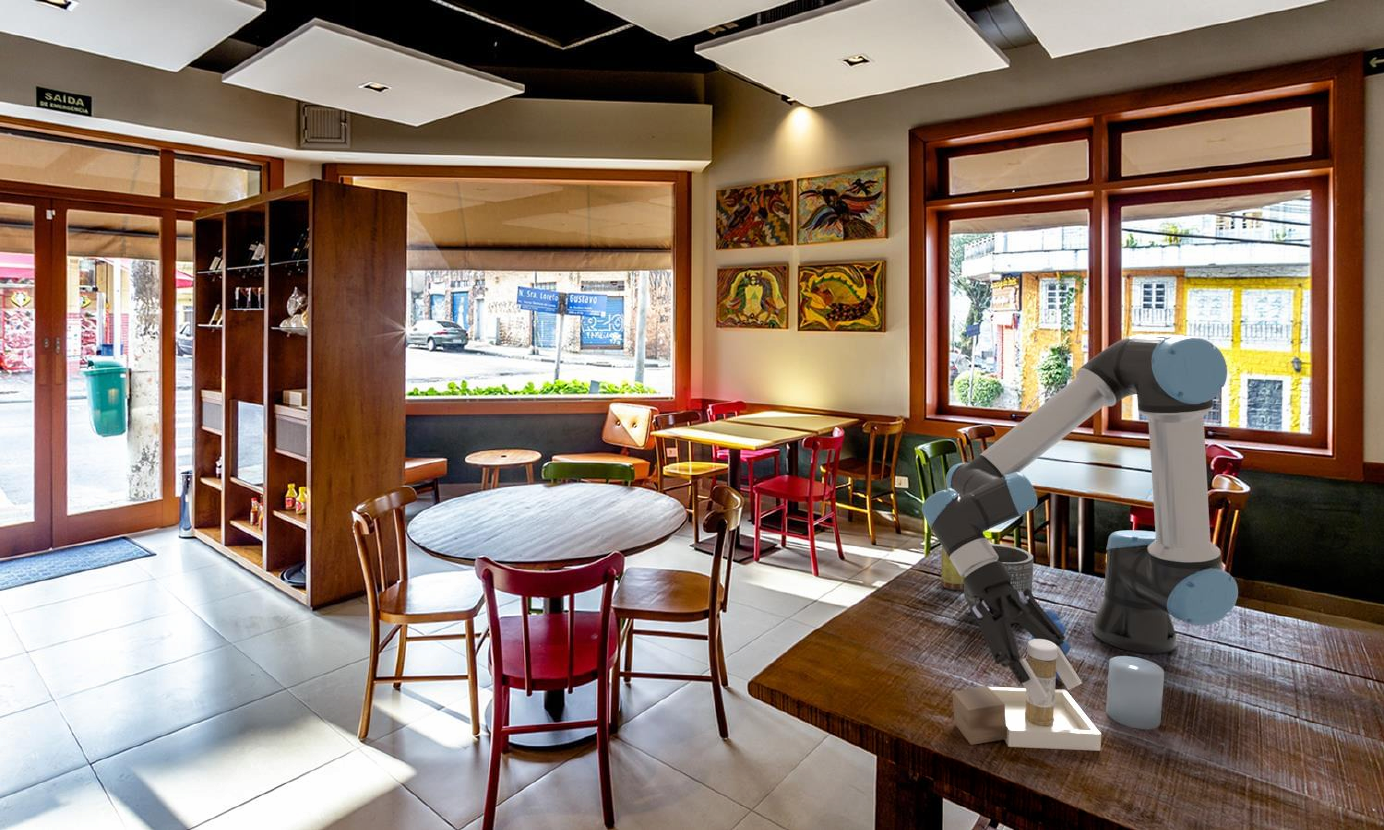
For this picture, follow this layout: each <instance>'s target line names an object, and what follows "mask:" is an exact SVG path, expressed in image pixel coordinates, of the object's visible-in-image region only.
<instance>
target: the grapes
mask: <svg viewBox="0 0 1384 830" xmlns="http://www.w3.org/2000/svg"><path fill="white" fill-rule="evenodd" d="M1044 611H1045V610H1044ZM1045 613H1046V614H1047V615H1048V616H1049V618H1050V619H1051V620H1052V621H1053V622H1054V624H1055V625H1056V626H1057V627H1058V629H1059V630H1060V631H1061V632H1062V634H1063V635H1064V636H1065V633H1066V632H1067V628H1066V626H1065V624H1063V623H1062V622H1061V621H1060V617H1059V616H1058V614H1057V613H1056V612H1055V611H1053V610H1052V609H1048V610H1046V611H1045ZM1054 636H1055V634H1054ZM1032 639H1035V638H1034V637H1033V636H1032V635H1031V638H1030V640H1032ZM1063 641H1064V642H1063V644H1061V645H1060V647H1061V648H1062V650H1063V651H1064V653H1065V654H1066V656H1067V655H1068V653H1069V652H1070V650H1071V645H1070V644H1069V643H1068V641H1067V640H1066V639H1064V640H1063ZM1056 679H1057V680H1061V678H1060V676H1059V675H1058V673H1057V672H1056Z"/></svg>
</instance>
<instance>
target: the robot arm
mask: <svg viewBox="0 0 1384 830" xmlns="http://www.w3.org/2000/svg"><path fill="white" fill-rule="evenodd" d="M1227 378H1228V365H1227V362H1226V358H1225V356H1224V355H1223V353H1222V352H1221V350H1220V349H1219V348H1218V347H1217V345H1214V344H1213V343H1212V342H1211V341H1209V340H1207V339H1205V338H1201V337H1196V336H1191V335H1186V334H1150V333H1140V334H1134V335H1131V336H1127V337H1125V338H1122V339H1120V340H1118V341H1116V342H1114V343H1112V344H1111V345H1110V346H1108V347H1106V348H1105V349H1103V350H1102V351H1100V352H1099V353H1098V354H1096V355H1095V356H1094V357H1093V358H1091V359H1090V360H1088V361H1086V363H1085V364H1083V365H1082V366H1081V367H1079V369H1077V370H1076V374H1075V378H1074V379H1073V380H1072V381H1070V382H1069V383H1068V384H1067V385H1065V386H1064V387H1063V388H1062V389H1060V390H1059V391H1058V392H1057V393H1055V394H1054V395H1053V396H1052V397H1050V398H1049V399H1048V400H1047V401H1045V402H1044V403H1043V404H1042V405H1040V406H1039V407H1038V408H1037V409H1035V410H1034V411H1033V412H1031V413H1030V414H1029V415H1028V416H1027V417H1025V418H1024V419H1023V420H1022V421H1020V422H1019V423H1018V424H1017V425H1015V426H1014V427H1012V429H1010V430H1009V431H1008V432H1007V433H1005V434H1004V435H1003V436H1001V437H1000V438H998V440H996V441H995V442H994V443H993V444H992V445H990V446H989V447H988V448H986V449H985V450H983V452H981V453H980V454H979V455H978V456H976V457H975V458H974V459H973V460H971V461H970V462H959V463H956V464H954V465H953V466H951V467H950V468H949V470H947V471H948V472H947V473H946V475H945V486H946V489H941V490H939V491H936V492H935V493H932V495H930V496H928V497H927V498H926V499H925V500H924V501H923V503H922V506H921V512H922V515H923V516H924V518H925V520H926V522H927V524H928V526H929V529H930V530H931V531H932V533H933V534H934V536H935V537H936V539H937V540H938V542H939V543H940V546H941V548H942V547H943V548H944V550H945V552H946V553H947V555H948V557H949V558H950V560H951V561H952V563H953V565H954V566H955V568H956V570H957V571H958V573H959V575H960V576H961V577H965V578H964V584H965V585H966V587H967V588H968V590H969V592H970V593H971V595H972V597H974V598H978V599H979V603H978V604H977V605H975V606H974V607H972V608H971V609H970V608H969V612H970V614H971V616H972V617H973V618H974V620H975V621H976V623H977V624H978V626H979V628H980V631H981V633H982V635H983V638H984V641H985V642H986V644H987V647H988V649H989V651H990V653H991V656H992V657H993V660H994V662H995V663H996V664H997V665H1002V667H1004V668H1007V667H1009V668H1010V669H1011V671H1012V673H1013V674H1014V676H1015V678H1016V680H1017V682H1019V683H1020V684H1021V685H1022V686H1023V688H1025V689H1026V691H1027V693H1028V694H1029V696H1030V698H1031V699H1032V701H1033V702H1034V704H1036V703H1038V702H1040V701H1042V700H1044V699H1046V698H1048V697H1049V696H1048V695H1047V693H1046V692H1045V690H1044V688H1043V687H1042V685H1041V683H1040V682H1039V680H1038V679H1037V677H1036V675H1035V674H1034V672H1033V671H1032V669H1031V667H1030V666H1029V664H1028V660H1026V657H1024V658H1022V659H1021V657H1020V654H1019V650H1018V646H1017V643H1016V640H1015V635H1014V633H1013V629H1012V624H1010V621H1011V619H1012V620H1013V621H1014V622H1017V623H1018V624H1019V625H1020V626H1021V627H1022V628H1023V629H1025V630H1026V632H1028V633H1029V634H1030V635H1031V637H1032V636H1033V637H1034V638H1035V639H1044V640H1048V641H1051V642H1053V643H1054V644H1056V645H1057V647H1058V657H1057V660H1056V672H1057V673H1058V675H1059V676H1060V680H1061V682H1062V683H1063V685H1064V686H1065V687H1066V690H1067V691H1069V690H1072V689H1074V688H1075V687H1078V686H1079V685H1081V684H1083V681H1082V680H1081V679H1080V677H1079V676H1078V674H1077V673H1076V671H1075V669H1074V667H1073V666H1072V665H1071V664H1072V663H1071V661H1070V659H1069V657H1068V656H1067V655H1066V654H1065V653H1064V651H1063V650H1062V648H1061V647H1060V645H1061V644H1063V642H1064V641H1063V640H1066V639H1065V638H1066V637H1065V634H1064V635H1063V634H1062V632H1061V631H1060V630H1059V629H1058V627H1057V626H1056V625H1055V624H1054V622H1053V621H1052V620H1051V619H1050V618H1049V616H1048V615H1047V614H1046V613H1045V610H1044V609H1043V608H1042V606H1041V605H1040V604H1039V603H1038V601H1037V600H1036V598H1035V597H1034V594H1033V591H1032V592H1031V591H1030V590H1029V589H1026V590H1024V591H1023V592H1018V591H1017V590H1016V589H1014V588H1013V587H1012V585H1011V579H1012V578H1011V575H1010V574H1009V572H1008V571H1007V569H1006V568H1005V566H1004V565H1003V563H1002V562H1000V561H997V560H998V555H997V553H996V552H995V550H994V549H993V547H992V546H991V544H992V543H990V541H989V539H988V538H987V537H986V535H985V534H984V532H986V531H988V530H991V529H993V528H994V527H997V526H1000V525H1001V524H1005V523H1006V522H1009V521H1011V520H1013V519H1016V518H1017V517H1021V516H1022V515H1023V514H1026V513H1028V512H1029V511H1031V510H1033V509H1035V508H1036V506H1037V505H1038V496H1037V492H1036V490H1035V488H1034V486H1033V484H1032V483H1031V481H1030V479H1028V478H1027V477H1026V476H1025V474H1023V473H1021V472H1022V471H1023V470H1024V469H1026V468H1027V467H1028V466H1029V465H1031V464H1032V463H1033V462H1034V461H1036V460H1037V459H1038V458H1040V457H1041V456H1043V454H1045V453H1046V452H1047V451H1049V450H1050V449H1051V448H1052V447H1054V446H1055V445H1056V444H1058V443H1059V442H1060V441H1061V440H1062V439H1064V438H1066V437H1067V436H1068V435H1069V434H1070V433H1072V432H1073V431H1074V430H1075V429H1077V428H1078V427H1079V426H1080V425H1081V424H1083V423H1084V422H1085V421H1087V420H1088V419H1089V418H1091V417H1092V416H1093V415H1094V414H1096V413H1097V412H1099V410H1101V409H1102V408H1103V407H1114V406H1115V405H1117V403H1119V402H1120V401H1121V400H1122V399H1124V398H1127V397H1129V396H1133V395H1136V396H1137V400H1136V401H1137V410H1138V412H1139V413H1140V414H1141V415H1143V416H1144V417H1146V419H1147V420H1148V434H1149V437H1148V439H1149V452H1150V468H1151V483H1152V485H1151V486H1152V499H1153V513H1154V527H1155V529H1154V530H1155V531H1150V530H1149V531H1148V530H1133V529H1132V530H1131V529H1129V530H1128V529H1127V530H1118V531H1114V532H1112V533H1110V535H1109V536H1108V540H1107V545H1106V548H1105V550H1106V561H1105V577H1104V579H1105V581H1104V595H1103V600H1102V602H1101V604H1100V605H1099V608H1098V610H1097V612H1096V614H1095V616H1094V618H1093V621H1092V633H1093V635H1094V636H1095V637H1096V638H1097V639H1099V640H1100V641H1102V642H1104V643H1105V644H1108V645H1109V646H1113V647H1115V648H1118V649H1121V650H1124V651H1125V650H1126V651H1129V652H1135V653H1139V654H1166V653H1169V652H1172V651H1174V650H1175V649H1176V646H1177V644H1176V643H1177V642H1176V641H1177V634H1176V630H1175V628H1174V624H1173V621H1172V618H1173V619H1176V620H1179V621H1182V622H1185V623H1186V624H1188V625H1192V626H1196V627H1197V626H1198V627H1199V626H1200V627H1202V626H1203V627H1205V626H1210V625H1213V624H1215V623H1218V622H1219V621H1222V619H1224V618H1226V615H1228V614H1229V613H1231V612H1232V610H1233V609H1234V607H1235V605H1236V604H1237V600H1238V596H1239V587H1238V583H1237V581H1236V580H1235V577H1233V576H1232V575H1231V574H1230V573H1228V572H1227V571H1225V570H1223V565H1222V551H1221V549H1220V548H1219V547H1218V546H1217V545H1216V544H1214V542H1212V541H1211V529H1210V527H1211V526H1210V515H1209V514H1210V513H1209V509H1210V508H1209V493H1208V475H1207V474H1208V473H1207V459H1206V456H1207V455H1206V440H1205V438H1206V437H1205V421H1204V420H1205V419H1204V417H1205V416H1206V415H1207V414H1208V413H1209V412H1210V411H1211V410H1213V408H1214V398H1216V397H1217V396H1218V395H1219V394H1220V393H1221V388H1224V386H1225V385H1226V382H1227ZM1021 611H1022V612H1021ZM1054 634H1055V636H1054Z"/></svg>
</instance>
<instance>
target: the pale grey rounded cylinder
mask: <svg viewBox="0 0 1384 830" xmlns="http://www.w3.org/2000/svg"><path fill="white" fill-rule="evenodd" d="M1108 663H1109V664H1108V677H1107V678H1108V679H1107V680H1108V681H1107V690H1106V691H1107V692H1106V706H1105V712H1106V714H1107V716H1108V717H1109V718H1110V719H1111V720H1113V721H1115V722H1116V723H1119V724H1120V725H1123V726H1126V727H1129V728H1133V729H1137V730H1154V729H1157V728H1158V727H1160V726H1161V717H1162V705H1163V694H1164V692H1163V691H1164V681H1165V680H1164V679H1165V671H1164V669H1163V668H1162V667H1161V666H1160V665H1158V664H1157V663H1155V662H1152V661H1150V660H1148V659H1144V658H1141V657H1136V656H1128V655H1117V656H1114V657H1112V658H1110V659H1109V662H1108Z"/></svg>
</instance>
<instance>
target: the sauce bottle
mask: <svg viewBox="0 0 1384 830" xmlns="http://www.w3.org/2000/svg"><path fill="white" fill-rule="evenodd" d="M940 576H941V578H940V579H941V586H942V587H943V588H945V589H947V590H950V591H964V578H965V577H961V576H960V575H959V573H958V571H957V570H956V568H955V566H954V565H953V563H952V561H951V560H950V558H949V557H948V555H947V553H946V552H945V550H944V548H943V547H942V546H941V575H940Z"/></svg>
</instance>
